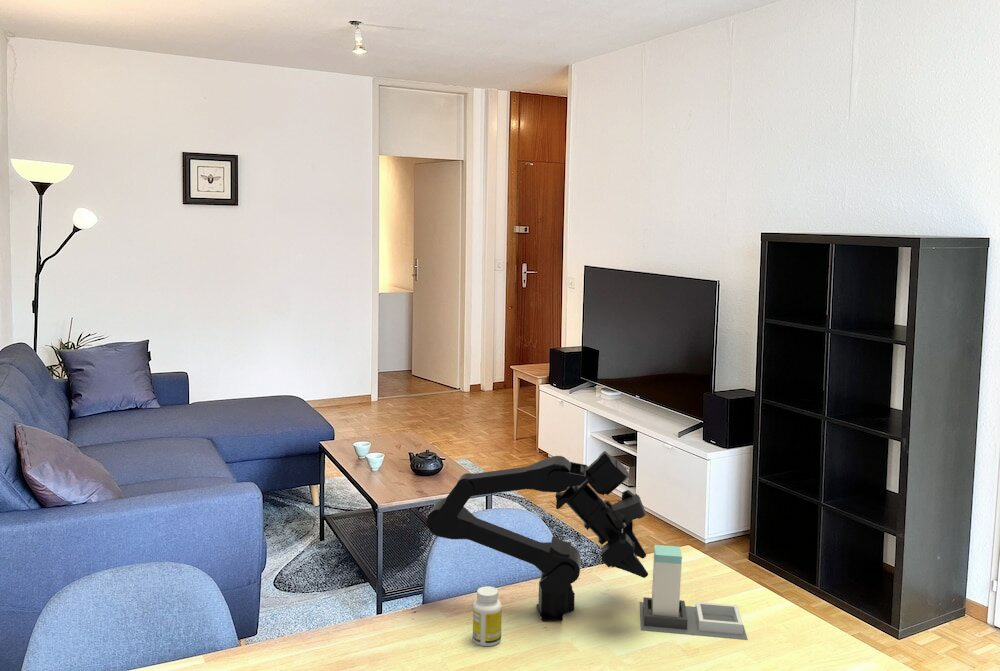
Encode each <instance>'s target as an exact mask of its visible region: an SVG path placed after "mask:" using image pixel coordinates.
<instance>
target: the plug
mask: <svg viewBox="0 0 1000 671" xmlns="http://www.w3.org/2000/svg"><path fill="white" fill-rule="evenodd" d="M682 560H683V556H682V551H681V546H678V545H677V546H676V545H661V544H654V549H653V564H652V565H653V566H652V568H653V569H652V586H651V598H652V603H651V615H659V616H671V617H679V600H680V598H681V597H680V596H681V595H680V594H681V583H682V582H681V580H682V579H681V578H682Z"/></svg>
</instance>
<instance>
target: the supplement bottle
mask: <svg viewBox="0 0 1000 671" xmlns="http://www.w3.org/2000/svg"><path fill="white" fill-rule="evenodd" d="M476 593H477V594H476V598H477V599H476V600H475V601H473V605H472V606H473V607H472V640H473V642H474V643H475V644H476V645H479V646H483V647H493V646H495V645H498V644H499V643H501V640H502V616H503V614H502V613H503V611H502V608H503V606H502V603H501V601H500V600H499V589H498V588H496V587H494V586H482V587H481V586H480V587H479V588H478V589H477V591H476Z"/></svg>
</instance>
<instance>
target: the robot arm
mask: <svg viewBox="0 0 1000 671" xmlns="http://www.w3.org/2000/svg"><path fill="white" fill-rule="evenodd" d="M629 477H630V474H629V472H628V470H627V469H626V468H625V466H624V464H622V462H621V461H619V459H617V458H615V457H614V456H612V455H610V454H609V453H608V452H607V451H606V450H604V451H603V452H602V453H600V454H599V456H598V457H597V458H596V459H595V460H594V461H593V462H592V463H590V465H587V464H584V463H578V462H572V461H570V460H569V459H568V458H566V457H565V456H563V455H555V456H551V457H548V458H545V459H542V460H539V461H536V462H534V463H532V464H530V465H527V466H521V467H515V468H507V469H499V470H491V471H482V472H477V473H469V472H467V473H464V474H462V475H461V476H460V477H459V479H458V481H457V483H456V484H455V485H454V487H453V488H452V489H451V491H450V492H449V494H448V495H447V496H446V497H445V498H443V499H440V500H438V501H437V502H435V504H434V506H433V507H432V509H431V511H430V512H429V513H428V515H427V518H426V526H427V528H428V530H429V533H431V534H432V535H434V536H435V537H439V538H444V539H447V540H448V539H449V540H468V541H471V542H474V543H477V544H479V545H481V546H484V547H487V548H489V549H492V550H494V551H497V552H500V553H502V554H505V555H508V556H510V557H512V558H515V559H518V560H521V561H523V562H526V563H528V564H531V565H533V566H534V567H536V568H537V569H538V571H540V572H541V575H540V580H539V581H538V601H537V602H538V603H536V605H535V606H536V609H537V611H538V614H539V617H540V620H541V621H543V622H544V621H545V622H546V621H547V622H548V621H549V622H550V621H563V618H564V615H566V614H567V613H571V612H574V611H575V597H576V596H575V594H576V593H575V592H574V589H573V586H572V584H573V583H575V582H576V581H577V580H578V578H579V577H580V573H581V564H582V557H581V554H580V552H579V550H578V549H577V547H575V546H573V545H572V542H571V541H564V540H562V539H560V538H558V537H556V536H552V537H551V542H549V541H547V542H545V541H544V542H543V541H538V540H535V539H533V538H530V537H528V536H525V535H523V534H520V533H517V532H514V531H511V530H509V529H507V528H504V527H502V526H499V525H497V524H494V523H491V522H490V521H489V522H488V521H487V520H483V519H481V518H478V517H476V516H475V515H474V514H473V513H472V512H470V511H469V510H468V509H467V508H466V507H465V505H466V503H467V502H468V501H469V499H470V498H471V497H473V496H474V497H475V496H482V495H483V496H484V495H491V494H497V493H498V494H499V493H507V492H514V491H515V492H516V491H523V490H524V491H525V490H535V491H537V492H542V493H555V498H556V499H555V501H556V505H555V509H556V510H560V509H561V508H562V507H563V506H564V505H567V506H568V507H569V508H570V509H571V510H572V511H573V513H575V514H576V516H577V517H578V518H579V519H580V520H581V521H582V522H583V527H584V528H585V529H586V530H587V531H588V530H589V529H590V530H591V532H592V533H594V534H595V536H597V538H598V543H599V545H602V546H601V561H602V563H604V565H605V566H607V567H608V568H616V569H620V570H623V571H626V572H628V573H631V574H633V575H635V576H638V577H641V578H644V579H645V578H647V577H648V576H649V573H648V571H647V569H646V568H645V566H644V565H643V563H642V562H641V561H640V559H645V558H646V557H647V553H646V551H645V549H644V548H643V546H642V545H641V543H640V540H639V539H638V538H637V536H636V534H635V533H634V531H633V529H634V528H633V526H634V524H633V522H634V520H636V519H638V520H640V519H642V518H644V517H645V516H646V512H645V507H644V505H643V502H642V500H641V497H640V496H639V495H638V493H635V494H634V493H633V492H632V491H630V489H627V490H623V491H622V492H621V500H620V499H619V500H617V502H616V503H613V504H612V503H611V501H610V500H607V499H605V500H603V498H601V496H599V495H602V496H604V495H606V496H609V495H610V494H611V493H612V492H614V491H615V489H617V488H618V487H620V485H621V484H623V482H625V481H626V480H628V478H629ZM638 557H639V558H640V559H639V558H638Z"/></svg>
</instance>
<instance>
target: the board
mask: <svg viewBox="0 0 1000 671" xmlns="http://www.w3.org/2000/svg"><path fill="white" fill-rule="evenodd" d="M642 599H643V601H640V602H639V619H640V621H639V622H640V623H639V625H640V626H639V627H640V631H642V632H643V631H644V632H652V633H653V632H654V633H665V634H675V635H676V634H677V635H687V636H698V637H699V636H700V637H709V638H717V639H718V638H720V639H729V640H730V639H731V640H732V639H733V640H742V641H748V640H749V639H748V636H747V633H746V629H745V626H744V623H743V619H742V615H741V613H740V610H739V606H738V605H737V604H726V603H717V602H716V603H715V602H703V601H702V602H701V601H695V606H690V605H686V603H685V600H683V599H682V600H679V617H671V616H659V615H651V603H652V597H644V596H643V598H642Z"/></svg>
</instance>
